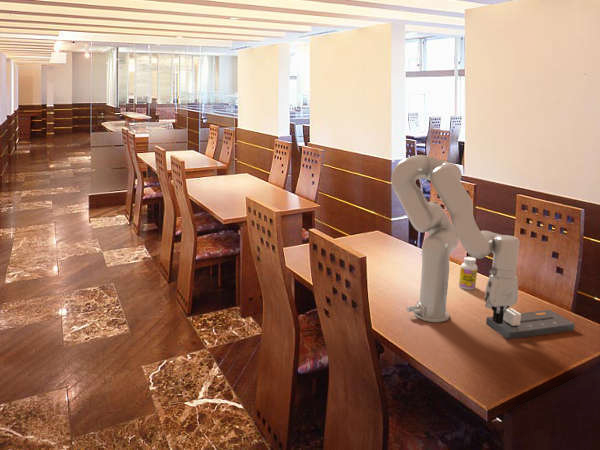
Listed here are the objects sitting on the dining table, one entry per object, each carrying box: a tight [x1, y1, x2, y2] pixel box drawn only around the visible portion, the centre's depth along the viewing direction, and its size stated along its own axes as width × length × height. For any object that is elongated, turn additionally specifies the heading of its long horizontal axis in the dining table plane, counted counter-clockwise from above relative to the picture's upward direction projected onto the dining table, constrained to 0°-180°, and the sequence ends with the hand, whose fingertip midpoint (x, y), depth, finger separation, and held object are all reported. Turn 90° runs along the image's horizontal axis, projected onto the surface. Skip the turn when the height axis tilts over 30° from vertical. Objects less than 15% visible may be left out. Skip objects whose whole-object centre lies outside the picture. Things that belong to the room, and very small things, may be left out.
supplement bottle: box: [458, 256, 478, 291], centre depth 208 cm, size 7×7×13 cm
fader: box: [503, 307, 521, 326], centre depth 171 cm, size 3×5×4 cm, turn 16°
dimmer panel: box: [485, 309, 576, 340], centre depth 174 cm, size 27×12×3 cm, turn 105°
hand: (497, 322), depth 170 cm, fingers closed
